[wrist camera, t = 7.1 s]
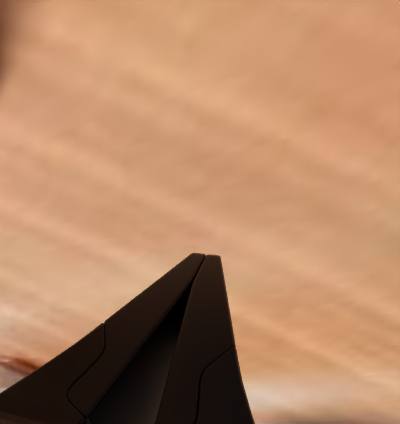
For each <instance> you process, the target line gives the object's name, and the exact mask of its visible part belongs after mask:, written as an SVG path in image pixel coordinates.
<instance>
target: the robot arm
mask: <svg viewBox="0 0 400 424" xmlns="http://www.w3.org/2000/svg"><path fill="white" fill-rule="evenodd" d="M0 424H255V422H254V419H253V416H252V413H251V410H250V407H249V403H248V399H247V396H246V392H245V389H244V385H243V381H242V377H241V372H240V367H239V362H238V356H237V350H236V345H235V339H234V333H233V327H232V321H231V315H230V309H229V304H228V298H227V292H226V286H225V280H224V274H223V268H222V262H221V257H220V256H218V255H205V254H200V253H192V254H190V255H189V256H188V257H187V258H185V259H184V260H183V261H181V262H180V263H179V264H178V265H176V266H175V267H174V268H172V269H171V270H170V271H169V272H167V273H166V274H165V275H163V276H162V277H161V278H160V279H158V280H157V281H156V282H154V283H153V284H152V285H151V286H149V287H148V288H147V289H145V290H144V291H143V292H142V293H140V294H139V295H138V296H136V297H135V298H134V299H133V300H131V301H130V302H129V303H127V304H126V305H125V306H124V307H122V308H121V309H120V310H118V311H117V312H116V313H115V314H113V315H112V316H111V317H109V318H108V319H107V320H106V321H105V322H104V323H102V324H100V325H99V326H98V327H96V328H95V329H94V330H93V331H91V332H90V333H89V334H87V335H86V336H85V337H83V338H82V339H80V340H79V341H78V342H76V343H75V344H74V345H72V346H71V347H69V348H68V349H67V350H65V351H64V352H62V353H61V354H59V355H58V356H56V357H55V358H53V359H52V360H50V361H49V362H47V363H46V364H44V365H43V366H41V367H40V368H38V369H37V370H35V371H33V372H32V373H30V374H29V375H27V376H26V377H24V378H23V379H21V380H20V381H18V382H17V383H15V384H14V385H12V386H11V387H9V388H7V389H6V390H4V391H3V392H1V393H0Z"/></svg>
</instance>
